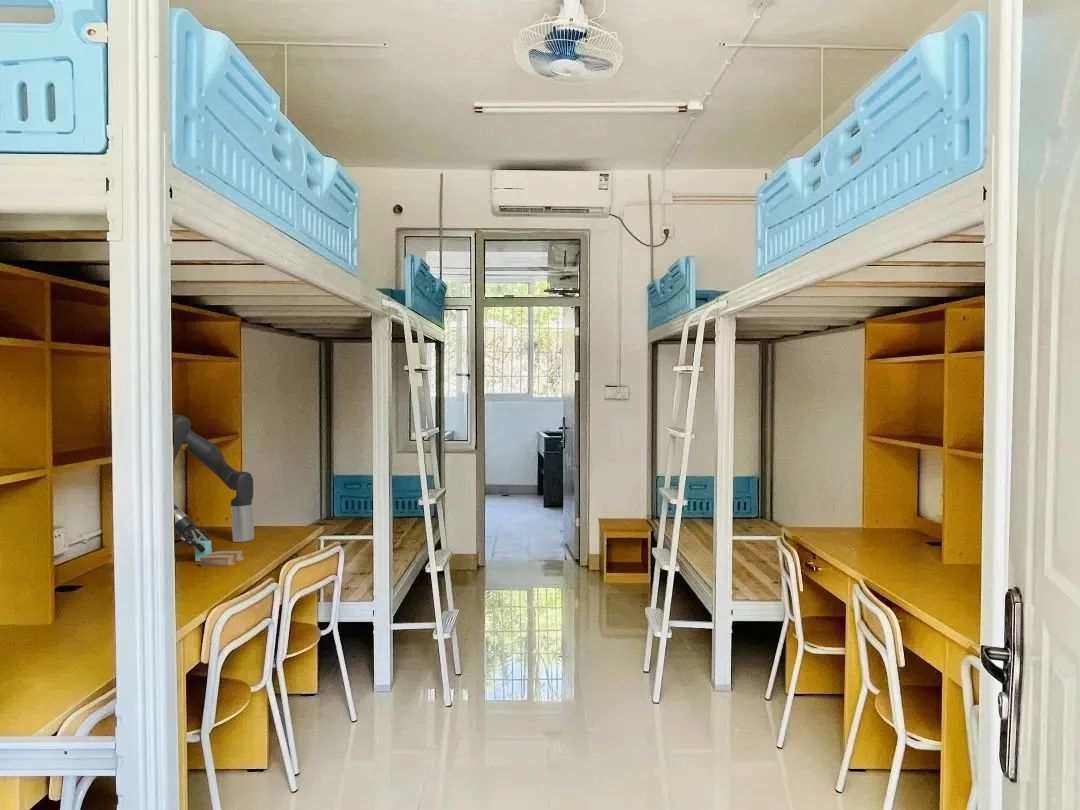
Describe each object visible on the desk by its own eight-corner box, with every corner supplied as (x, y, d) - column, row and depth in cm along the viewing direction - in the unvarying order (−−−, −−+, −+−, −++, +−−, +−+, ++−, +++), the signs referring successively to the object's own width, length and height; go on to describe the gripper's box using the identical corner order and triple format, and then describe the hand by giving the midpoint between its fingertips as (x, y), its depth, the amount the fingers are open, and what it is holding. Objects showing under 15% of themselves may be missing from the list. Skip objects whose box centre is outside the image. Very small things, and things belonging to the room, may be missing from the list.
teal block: (202, 558, 287) (201, 540, 287) (212, 558, 287) (211, 540, 286) (195, 561, 283) (194, 543, 282) (205, 561, 282) (204, 543, 282)
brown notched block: (217, 559, 286) (217, 550, 286) (243, 559, 285) (243, 550, 285) (200, 567, 274) (200, 558, 274) (227, 567, 273) (227, 557, 273)
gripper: (174, 519, 278) (202, 547, 277) (195, 512, 292) (222, 539, 291) (163, 532, 279) (191, 560, 278) (184, 524, 293) (212, 551, 292)
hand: (207, 549), depth 284 cm, fingers closed on teal block, 4 cm apart
